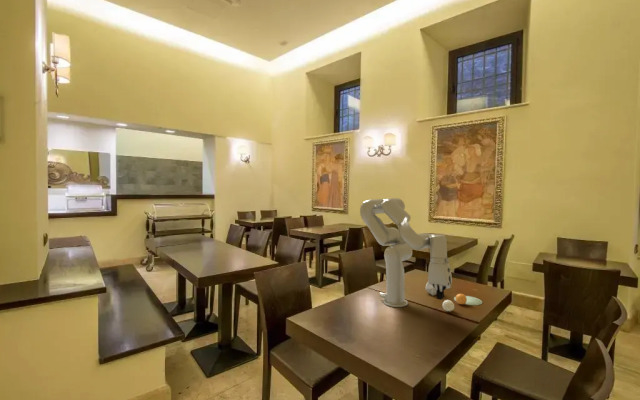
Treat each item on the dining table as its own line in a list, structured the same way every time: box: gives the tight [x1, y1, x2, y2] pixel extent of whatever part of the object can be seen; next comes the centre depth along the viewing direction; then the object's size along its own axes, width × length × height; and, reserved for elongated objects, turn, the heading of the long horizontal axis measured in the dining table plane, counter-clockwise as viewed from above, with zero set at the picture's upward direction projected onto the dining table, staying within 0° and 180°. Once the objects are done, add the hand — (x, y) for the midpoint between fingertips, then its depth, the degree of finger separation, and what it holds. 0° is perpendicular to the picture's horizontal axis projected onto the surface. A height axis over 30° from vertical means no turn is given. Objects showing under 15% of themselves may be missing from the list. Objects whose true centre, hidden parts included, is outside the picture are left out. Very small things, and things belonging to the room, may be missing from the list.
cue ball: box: [441, 299, 455, 312], centre depth 151 cm, size 6×6×6 cm
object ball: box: [455, 293, 467, 305], centre depth 160 cm, size 6×6×6 cm
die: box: [424, 280, 436, 296], centre depth 177 cm, size 8×9×10 cm
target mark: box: [453, 295, 483, 306], centre depth 165 cm, size 14×14×1 cm
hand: (440, 298), depth 144 cm, fingers closed
